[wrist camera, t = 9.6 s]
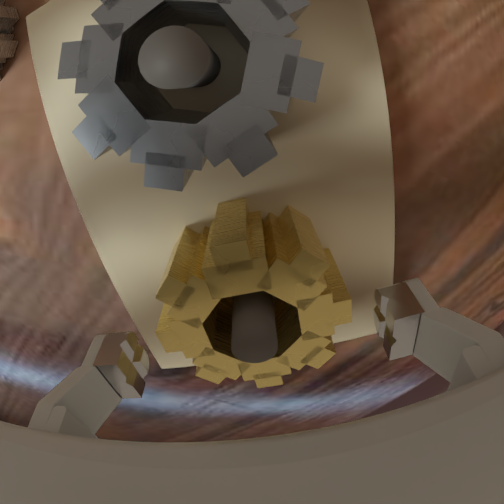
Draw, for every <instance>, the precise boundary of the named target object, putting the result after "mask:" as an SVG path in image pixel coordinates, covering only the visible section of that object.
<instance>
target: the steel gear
mask: <svg viewBox="0 0 504 504" xmlns="http://www.w3.org/2000/svg"><path fill="white" fill-rule="evenodd" d="M100 1H101V2H102V3H103V4H102V5H101V6H99V7H98V8H97V9H96V10H95V11H94V12H93V13H92V14H91V15H92V17H93V18H94V19H95V20H96V21H97V23H98V24H99V25H88V26H84V29H83V35H82V41H72V42H63V43H62V48H61V54H60V62H59V70H58V79H72V78H76V85H75V94H79V93H89V94H88V95H87V96H86V97H85V98H84V99H83V100H82V101H81V102H80V103H79V104H78V106H79V107H80V108H81V110H82V111H83V112H84V114H85V115H86V117H85V118H84V119H83V120H82V121H81V123H80V124H79V125H78V126H77V127H76V128H75V129H74V130H73V131H72V133H73V134H74V135H75V137H76V138H77V139H78V141H79V142H80V143H81V144H82V146H83V147H84V148H85V149H86V151H87V152H88V153H89V154H90V155H91V157H92V158H93V159H94V160H95V159H96V158H98V157H100V156H101V155H103V154H105V153H106V152H108V151H110V150H112V149H113V150H114V151H115V152H116V153H117V155H118V156H121V155H122V154H124V153H125V152H127V151H128V150H130V149H131V154H130V163H140V164H145V173H144V187H150V188H158V189H166V190H174V191H181V192H182V191H183V189H184V188H185V186H186V184H187V182H188V180H189V178H190V177H191V175H192V173H193V171H194V170H199V171H201V170H202V168H203V166H204V164H205V162H206V160H207V159H208V160H209V161H210V163H211V164H212V165H213V166H214V168H215V167H216V166H218V165H219V164H220V163H222V162H223V161H225V160H226V159H228V158H229V160H230V161H231V162H232V164H233V165H234V166H235V168H236V169H237V170H238V172H239V173H240V174H241V176H242V177H245V176H246V175H248V174H250V173H251V172H253V171H254V170H256V169H257V168H259V167H260V166H262V165H263V164H265V163H266V162H268V161H269V160H271V159H272V158H274V157H276V156H277V155H278V153H277V151H276V149H275V147H274V144H273V142H272V140H271V138H270V136H269V134H268V131H269V130H271V129H273V128H274V127H276V126H277V125H278V124H277V122H276V121H275V119H274V118H273V116H272V115H271V114H270V112H269V111H268V110H272V111H277V112H282V113H287V108H288V104H289V99H290V97H292V98H297V99H301V100H305V101H310V102H314V103H315V101H316V97H317V93H318V88H319V84H320V79H321V74H322V70H323V65H324V63H322V62H318V61H314V60H310V59H306V58H302V57H299V52H300V47H301V43H302V41H300V40H296V39H291V38H289V37H290V36H291V35H292V34H293V33H294V32H295V31H296V30H297V29H298V26H297V25H296V24H295V21H296V20H297V19H298V18H299V16H300V15H301V14H302V13H303V12H304V10H305V9H306V8H307V7H308V6H309V5H310V3H309V1H308V0H100ZM188 23H190V24H203V25H213V26H223V27H227V28H228V30H229V31H230V32H231V33H232V35H233V36H234V37H235V38H236V40H237V41H238V42H239V43H240V45H241V46H242V47H243V48H244V50H245V51H246V52H247V54H248V57H247V62H246V67H245V72H244V77H243V82H242V88H241V92H239V93H238V94H236V95H235V96H233V97H232V98H230V99H229V100H228V101H226V102H225V103H223V104H222V105H220V106H219V107H217V108H216V109H215V110H213V111H212V112H202V111H194V110H184V109H174V108H173V107H172V106H171V105H170V104H169V102H168V101H167V100H166V99H165V97H164V96H163V95H162V94H161V92H160V91H159V90H158V89H157V87H155V86H153V85H152V84H150V83H149V82H147V81H146V80H145V78H144V77H143V76H142V74H141V72H140V69H139V65H138V56H139V52H140V49H141V47H142V45H143V43H144V42H145V40H146V39H147V38H148V37H149V36H150V35H151V34H152V33H154V32H155V31H157V30H159V29H161V28H163V27H167V26H183V27H184V26H185V25H186V24H188Z"/></svg>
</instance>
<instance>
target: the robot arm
mask: <svg viewBox="0 0 504 504" xmlns="http://www.w3.org/2000/svg"><path fill="white" fill-rule="evenodd" d="M374 299H375V301H376V303H377V305H376V307H375V308H374V323H375V327H376V330H377V333H378V335H379V336H380V337H382V338H383V339H384V341H383V347H384V349H385V351H386V354H387V356H388V358H389V360H393V359H397V358H401V357H405V356H408V355H412V354H413V356H415V357H416V358H417V359H419V360H420V361H421V362H423V363H424V364H425V365H427V366H428V367H430V368H431V369H432V370H434V371H435V372H436V373H438V374H439V375H441V376H442V377H443V378H445V379H446V380H447V381H449V382H450V384H449V387H448V389H447V391H446V392H444V393H442V394H439V395H437V396H434V397H431V398H428V399H425V400H422V401H420V402H417V403H414V404H411V405H408V406H405V407H401V408H399V409H395V410H392V411H388V412H385V413H381V414H378V415H374V416H370V417H366V418H363V419H359V420H355V421H350V422H346V423H342V424H337V425H333V426H328V427H323V428H318V429H313V430H307V431H301V432H295V433H289V434H282V435H275V436H267V437H259V438H250V439H239V440H226V441H209V442H137V441H120V440H108V439H99V438H98V437H97V436H96V435H94V434H95V433H96V432H97V431H98V429H99V428H100V427H101V426H102V424H103V423H104V422H105V421H106V419H107V418H108V417H109V415H110V414H111V413H112V412H113V410H114V409H115V408H116V407H117V405H118V404H119V403H120V402H121V400H122V398H142V395H143V391H144V387H145V381H144V379H143V378H144V377H145V376H146V375H147V373H148V370H149V358H148V355H147V352H146V351H145V349H144V348H143V347H142V346H140V345H138V340H139V339H138V337H137V336H136V334H135V333H134V332H120V333H108V334H98V335H96V336H95V337H94V339H93V341H92V343H91V345H90V347H89V350H88V352H87V354H86V356H85V358H84V361H83V363H82V365H81V367H77V368H76V369H75V370H74V371H73V372H71V373H70V374H69V375H68V376H67V377H66V378H65V379H64V380H62V381H61V382H60V383H59V384H58V385H57V386H56V387H55V388H53V389H52V390H51V391H50V392H49V393H48V394H47V395H46V396H45V397H43V398H42V399H41V400H40V401H39V402H38V403H37V406H36V408H35V410H34V413H33V415H32V417H31V420H30V422H29V425H28V427H24V426H20V425H15V424H11V423H7V422H3V421H0V504H504V338H503V337H502V335H501V334H500V333H499V332H497V331H495V330H492V329H490V328H488V327H486V326H484V325H482V324H480V323H478V322H475V321H473V320H471V319H469V318H467V317H465V316H463V315H460V314H458V313H456V312H454V311H452V310H450V309H447V308H445V307H441V308H440V307H439V306H438V304H437V303H436V302H435V300H434V299H433V297H432V296H431V294H430V293H429V292H428V290H427V289H426V288H425V286H424V285H423V283H422V282H421V281H420V279H418V278H414V279H410V280H407V281H403V282H400V283H396V284H392V285H388V286H384V287H380V288H376V289H375V292H374Z"/></svg>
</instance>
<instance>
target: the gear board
mask: <svg viewBox="0 0 504 504" xmlns="http://www.w3.org/2000/svg"><path fill="white" fill-rule="evenodd" d="M308 1H309V3H310V5H309V6H308V7H307V8H306V9H305V10H304V12H303V13H302V14H301V15H300V16H299V18H298V19H297V20H296V21H295V24H296V25H297V26H298V29H297V30H296V31H295V32H294V33H293V34H292V35H291V36H290V37H289V38H291V39H296V40H300V41H302V43H301V47H300V52H299V57H302V58H306V59H310V60H314V61H318V62H322V63H324V65H323V70H322V74H321V79H320V84H319V88H318V93H317V97H316V101H315V103H314V102H310V101H305V100H301V99H297V98H292V97H290V99H289V104H288V108H287V113H282V112H277V111H272V110H268V111H269V112H270V114H271V115H272V116H273V118H274V119H275V121H276V122H277V124H278V125H277V126H276V127H274V128H273V129H271V130H269V131H268V134H269V136H270V138H271V140H272V142H273V144H274V147H275V149H276V151H277V153H278V155H277V156H276V157H274V158H272V159H271V160H269V161H268V162H266V163H265V164H263V165H262V166H260V167H259V168H257V169H256V170H254V171H253V172H251V173H250V174H248V175H246V176H245V177H242V176H241V174H240V173H239V172H238V170H237V169H236V168H235V166H234V165H233V164H232V162H231V161H230V160H229V158H228V159H226V160H225V161H223V162H222V163H220V164H219V165H218V166H216V167H215V168H214V166H213V165H212V164H211V163H210V161H209V160H208V159H207V160H206V162H205V164H204V166H203V168H202V170H201V171H199V170H194V171H193V173H192V175H191V177H190V178H189V180H188V182H187V184H186V186H185V188H184V189H183V191H182V192H181V191H174V190H166V189H158V188H150V187H144V173H145V164H140V163H130V154H131V149H130V150H128V151H127V152H125V153H124V154H122V155H121V156H118V155H117V153H116V152H115V151H114V150H113V149H112V150H110V151H108V152H106V153H105V154H103V155H101V156H100V157H98V158H96V159H95V160H94V159H93V158H92V157H91V155H90V154H89V153H88V152H87V151H86V149H85V148H84V147H83V146H82V144H81V143H80V142H79V141H78V139H77V138H76V137H75V135H74V134H73V133H72V131H73V130H74V129H75V128H76V127H77V126H78V125H79V124H80V123H81V121H82V120H83V119H84V118H85V117H86V115H85V114H84V112H83V111H82V110H81V108H80V107H79V106H78V104H79V103H80V102H81V101H82V100H83V99H84V98H85V97H86V96H87V95H88V94H89V93H79V94H75V85H76V78H72V79H58V70H59V62H60V54H61V48H62V43H63V42H72V41H82V35H83V29H84V26H88V25H99V24H98V23H97V21H96V20H95V19H94V18H93V17H92V15H91V14H92V13H93V12H94V11H95V10H96V9H97V8H98V7H99V6H101V5H102V4H103V3H102V2H101V1H100V0H51V1H49V2H47V3H46V4H44V5H43V6H41V7H40V8H38V9H37V10H35V11H34V12H32V13H31V14H29V15H28V16H26V23H27V30H28V36H29V42H30V48H31V53H32V58H33V63H34V68H35V73H36V77H37V81H38V86H39V90H40V94H41V98H42V102H43V105H44V109H45V113H46V116H47V120H48V123H49V127H50V130H51V133H52V136H53V140H54V143H55V146H56V149H57V152H58V155H59V158H60V161H61V164H62V166H63V169H64V172H65V175H66V178H67V180H68V183H69V186H70V188H71V191H72V193H73V196H74V199H75V201H76V204H77V206H78V208H79V211H80V213H81V216H82V218H83V220H84V223H85V225H86V227H87V230H88V232H89V234H90V237H91V239H92V241H93V243H94V245H95V248H96V250H97V252H98V254H99V256H100V258H101V260H102V262H103V265H104V267H105V269H106V271H107V273H108V275H109V277H110V279H111V281H112V283H113V285H114V287H115V288H116V290H117V292H118V294H119V296H120V298H121V300H122V302H123V304H124V305H125V307H126V309H127V311H128V313H129V315H130V316H131V318H132V320H133V322H134V324H135V325H136V327H137V329H138V330H139V332H140V334H141V336H142V337H143V339H144V341H145V342H146V344H147V346H148V347H149V349H150V351H151V352H152V354H153V356H154V357H155V359H156V360H157V362H158V364H159V365H160V367H161V368H162V369H166V368H177V367H188V366H196V365H194V364H192V361H193V358H187V359H186V358H185V356H184V354H183V352H182V351H180V352H171V353H166V351H165V350H164V348H163V346H162V344H161V343H160V341H159V339H158V337H157V336H156V334H155V332H156V329H157V325H158V322H159V319H160V315H161V312H162V309H163V305H164V302H162V301H160V300H157V299H155V296H156V293H157V290H158V288H159V285H160V282H161V279H162V277H163V274H164V271H165V268H166V266H167V263H168V260H169V258H170V255H171V253H172V250H173V247H174V245H175V243H176V242H177V240H178V238H179V237H180V235H181V233H182V231H183V230H184V228H185V226H186V227H188V228H190V229H192V230H194V231H195V232H197V233H199V234H200V232H201V230H202V229H203V227H204V226H207V227H209V228H210V226H211V221H212V220H215V216H216V211H217V206H218V203H222V202H226V201H231V200H235V199H240V198H245V197H246V201H247V205H248V209H249V213H250V212H255V211H261V215H262V220H264V219H265V217H266V216H267V214H268V213H269V212H271V213H272V214H274V215H275V216H277V217H279V216H280V215H281V213H282V212H283V211H284V209H285V208H286V207H287V205H289V206H291V207H293V208H294V209H296V210H297V211H299V212H301V213H302V214H304V215H305V216H307V217H308V218H310V220H311V222H312V224H313V227H314V229H315V231H316V234H317V236H318V238H319V240H320V243H321V245H322V247H323V249H327V248H329V249H330V251H331V254H332V256H333V258H334V260H335V263H336V265H337V267H338V269H339V272H340V274H341V276H342V278H343V281H344V283H345V285H346V288H347V290H348V292H349V295H350V297H351V300H352V322H351V323H346V324H342V325H337V326H334V328H335V334H334V335H331V337H332V341H333V343H337V342H342V341H346V340H350V339H355V338H359V337H363V336H367V335H371V334H375V333H377V330H376V327H375V323H374V308H375V307H376V305H377V303H376V301H375V299H374V292H375V289H376V288H380V287H384V286H388V285H392V284H393V274H394V248H395V200H394V173H393V157H392V144H391V133H390V123H389V114H388V105H387V98H386V91H385V84H384V77H383V71H382V66H381V60H380V55H379V49H378V44H377V39H376V35H375V30H374V26H373V21H372V17H371V13H370V9H369V5H368V1H367V0H308ZM247 57H248V54H247V52H246V51H245V50H244V48H243V47H242V46H241V45H240V43H239V42H238V41H237V40H236V38H235V37H234V36H233V35H232V33H231V32H230V31H229V30H228V28H227V27H223V26H213V25H203V24H190V23H188V24H186V25H185V26H184V27H183V26H167V27H163V28H161V29H159V30H157V31H155V32H154V33H152V34H151V35H150V36H149V37H148V38H147V39H146V40H145V42H144V43H143V45H142V47H141V49H140V52H139V56H138V65H139V69H140V72H141V74H142V76H143V77H144V78H145V80H146V81H147V82H149V83H150V84H152V85H153V86H155V87H157V89H158V90H159V91H160V92H161V94H162V95H163V96H164V97H165V99H166V100H167V101H168V102H169V104H170V105H171V106H172V107H173V108H174V109H184V110H194V111H202V112H212V111H213V110H215V109H216V108H217V107H219V106H220V105H222V104H223V103H225V102H226V101H228V100H229V99H230V98H232V97H233V96H235V95H236V94H238V93H239V92H241V88H242V82H243V77H244V72H245V67H246V62H247ZM228 298H230V299H232V300H233V315H232V341H231V350H232V353H233V355H234V356H235V357H236V358H238V359H239V360H241V361H244V362H247V363H261V362H265V361H267V360H269V359H271V358H272V357H273V356H274V355H275V354H276V353H277V351H278V341H277V332H276V324H275V315H274V306H273V300H274V298H275V296H273V295H271V294H269V293H267V292H265V291H258V292H253V293H247V294H242V295H236V296H231V297H228Z"/></svg>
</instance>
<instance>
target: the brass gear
mask: <svg viewBox="0 0 504 504" xmlns="http://www.w3.org/2000/svg"><path fill="white" fill-rule="evenodd" d="M258 291H265V292H267V293H269V294H271V295H273V296H275V298H274V300H273V306H274V315H275V324H276V332H277V341H278V351H277V353H276V354H275V355H274V356H273V357H272V358H271V359H269V360H267V361H265V362H261V363H247V362H244V361H241V360H239V359H238V358H236V357H235V356H234V355H233V353H232V350H231V341H232V315H233V300H232V299H230V298H228V297H231V296H236V295H242V294H247V293H253V292H258ZM155 299H157V300H160V301H162V302H164V305H163V309H162V312H161V315H160V319H159V322H158V325H157V329H156V332H155V334H156V336H157V337H158V339H159V341H160V343H161V344H162V346H163V348H164V350H165V351H166V353H171V352H180V351H182V352H183V354H184V356H185V358H186V359H187V358H193V361H192V364H194V365H196V372H195V376H198V377H200V378H203V379H206V380H208V381H211V382H214V383H216V384H219V383H220V382H221V381H222V380H223V379H224V378H225V377H228V378H231V379H233V380H236V379H237V378H238V377H239V376H240V375H242V377H243V380H244V381H248V380H255V383H256V385H257V388H263V387H270V386H276V385H282V384H283V379H282V375H287V374H291V368H294V369H297V370H300V369H301V368H302V367H304V366H305V365H309V366H312V367H314V368H317V369H319V368H320V367H321V366H322V365H323V364H324V363H325V362H327V361H328V360H329V359H330V358H331V357H332V356H333V355H335V354H336V351H335V348H334V344H333V341H332V337H331V335H334V334H335V328H334V326H337V325H342V324H346V323H351V322H352V300H351V297H350V295H349V292H348V290H347V288H346V285H345V283H344V281H343V278H342V276H341V274H340V272H339V269H338V267H337V265H336V263H335V260H334V258H333V256H332V254H331V251H330V249H329V248H327V249H323V247H322V245H321V243H320V240H319V238H318V236H317V234H316V231H315V229H314V227H313V224H312V222H311V220H310V218H308V217H307V216H305V215H304V214H302V213H301V212H299V211H297V210H296V209H294V208H293V207H291V206H289V205H287V207H286V208H285V209H284V211H283V212H282V213H281V215H280V216H279V217H277V216H275V215H274V214H272V213H271V212H269V213H268V214H267V216H266V217H265V219H264V220H262V215H261V211H255V212H250V213H249V209H248V205H247V201H246V197H245V198H240V199H235V200H231V201H226V202H222V203H218V206H217V211H216V216H215V220H212V221H211V226H210V228H209V227H207V226H204V227H203V229H202V230H201V232H200V234H199V233H197V232H195V231H194V230H192V229H190V228H188V227H186V226H185V228H184V230H183V231H182V233H181V235H180V237H179V238H178V240H177V242H176V243H175V245H174V247H173V250H172V253H171V255H170V258H169V260H168V263H167V266H166V268H165V271H164V274H163V277H162V279H161V282H160V285H159V288H158V290H157V293H156V296H155Z"/></svg>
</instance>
